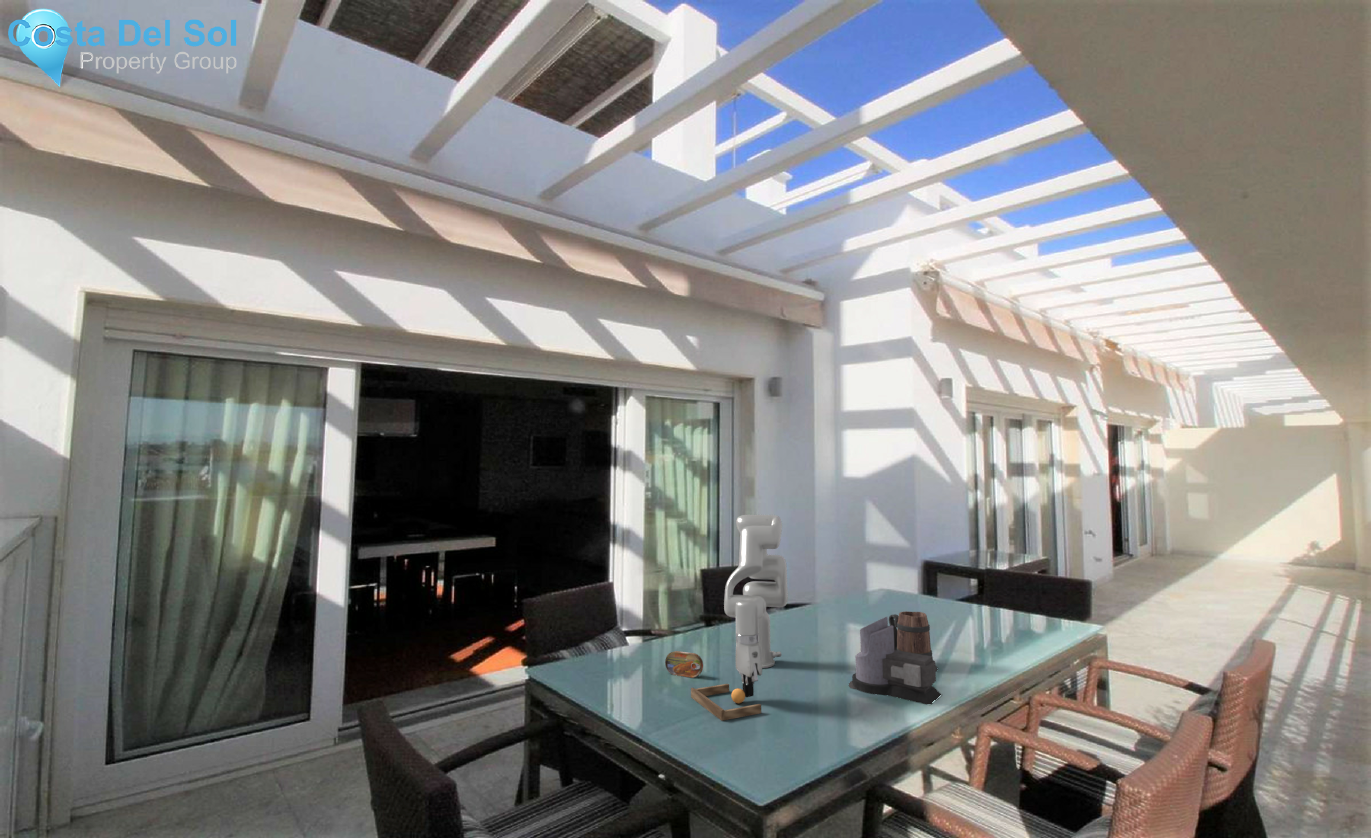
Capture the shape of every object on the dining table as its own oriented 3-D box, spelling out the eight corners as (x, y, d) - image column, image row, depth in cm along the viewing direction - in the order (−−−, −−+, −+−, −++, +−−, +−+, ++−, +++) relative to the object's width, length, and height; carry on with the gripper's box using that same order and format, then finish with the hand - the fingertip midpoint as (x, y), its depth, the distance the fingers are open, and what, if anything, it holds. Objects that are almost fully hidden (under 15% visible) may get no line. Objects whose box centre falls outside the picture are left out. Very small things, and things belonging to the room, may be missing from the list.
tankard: (948, 669, 234) (946, 615, 236) (914, 676, 227) (912, 620, 229) (902, 653, 255) (900, 604, 257) (870, 659, 248) (868, 608, 250)
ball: (737, 684, 205) (727, 691, 203) (745, 688, 201) (734, 695, 199) (741, 696, 205) (731, 703, 203) (749, 700, 201) (738, 708, 199)
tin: (664, 673, 232) (664, 650, 233) (668, 671, 235) (668, 648, 236) (700, 679, 225) (700, 655, 226) (704, 677, 228) (704, 653, 229)
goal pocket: (727, 691, 213) (727, 682, 213) (761, 713, 193) (761, 703, 193) (691, 697, 207) (690, 688, 208) (721, 720, 187) (721, 710, 188)
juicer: (840, 687, 216) (838, 615, 218) (860, 675, 228) (858, 608, 231) (928, 707, 197) (924, 628, 199) (944, 693, 209) (941, 619, 211)
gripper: (769, 642, 200) (770, 701, 199) (745, 632, 214) (746, 687, 212) (748, 645, 197) (749, 705, 195) (726, 634, 211) (727, 690, 209)
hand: (748, 695), depth 204 cm, fingers closed
